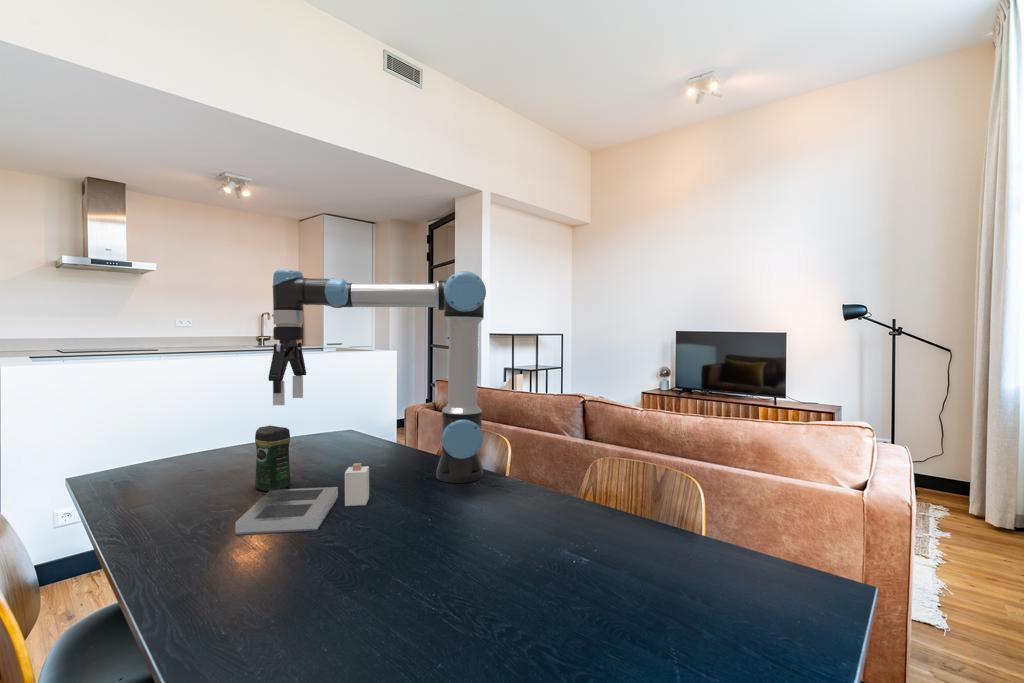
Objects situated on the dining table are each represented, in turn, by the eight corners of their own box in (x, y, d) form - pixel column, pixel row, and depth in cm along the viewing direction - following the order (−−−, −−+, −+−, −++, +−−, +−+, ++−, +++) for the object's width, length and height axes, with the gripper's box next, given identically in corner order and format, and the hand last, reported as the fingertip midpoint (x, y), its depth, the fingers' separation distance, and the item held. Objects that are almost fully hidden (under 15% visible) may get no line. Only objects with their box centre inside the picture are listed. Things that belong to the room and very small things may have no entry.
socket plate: (337, 497, 132) (337, 486, 132) (317, 530, 110) (317, 518, 110) (270, 500, 129) (270, 489, 129) (235, 535, 108) (235, 522, 108)
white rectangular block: (369, 497, 132) (368, 461, 132) (365, 504, 127) (365, 466, 126) (348, 498, 131) (348, 461, 131) (344, 506, 126) (344, 467, 126)
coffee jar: (295, 486, 141) (295, 425, 141) (271, 494, 134) (271, 430, 134) (274, 481, 146) (274, 422, 145) (250, 489, 139) (249, 427, 138)
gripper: (291, 326, 143) (292, 395, 143) (253, 325, 118) (254, 408, 118) (316, 326, 143) (317, 395, 144) (284, 325, 118) (284, 408, 119)
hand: (288, 401), depth 131 cm, fingers open, 13 cm apart
